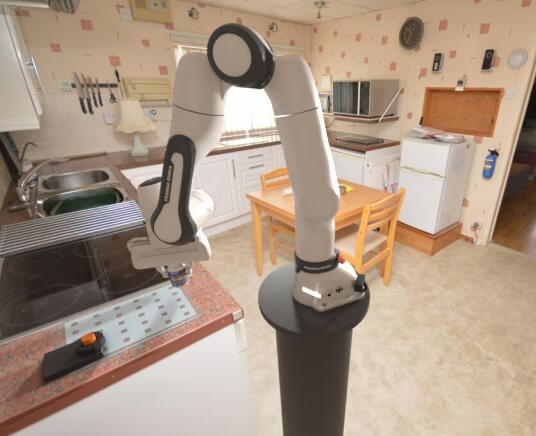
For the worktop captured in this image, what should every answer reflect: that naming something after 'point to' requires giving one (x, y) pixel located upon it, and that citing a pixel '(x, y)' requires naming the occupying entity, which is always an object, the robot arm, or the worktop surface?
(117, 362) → the worktop surface
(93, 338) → the tare button
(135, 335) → the worktop surface
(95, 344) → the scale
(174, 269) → the pill bottle
